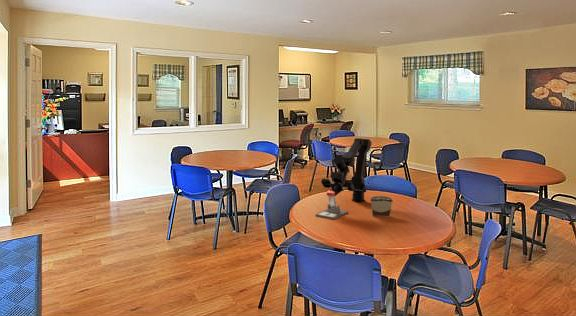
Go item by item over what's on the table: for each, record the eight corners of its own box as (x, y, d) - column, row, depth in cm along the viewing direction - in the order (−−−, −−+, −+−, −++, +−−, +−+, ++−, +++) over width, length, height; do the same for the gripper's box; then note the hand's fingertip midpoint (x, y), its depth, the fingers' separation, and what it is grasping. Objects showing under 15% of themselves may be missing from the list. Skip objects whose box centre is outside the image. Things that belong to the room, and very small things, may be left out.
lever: (331, 206, 240) (327, 190, 235) (338, 207, 238) (334, 191, 232) (329, 208, 238) (326, 192, 233) (336, 209, 236) (333, 193, 231)
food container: (390, 213, 238) (391, 196, 237) (392, 216, 232) (393, 198, 231) (368, 212, 240) (369, 195, 238) (369, 215, 234) (370, 198, 232)
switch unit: (329, 209, 247) (329, 201, 246) (347, 212, 240) (348, 204, 239) (315, 216, 233) (315, 207, 233) (334, 219, 227) (335, 210, 226)
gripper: (322, 164, 242) (312, 187, 235) (352, 167, 232) (343, 191, 225) (329, 175, 250) (319, 197, 243) (358, 179, 240) (349, 202, 232)
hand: (332, 197), depth 235 cm, fingers closed, pressing on lever
